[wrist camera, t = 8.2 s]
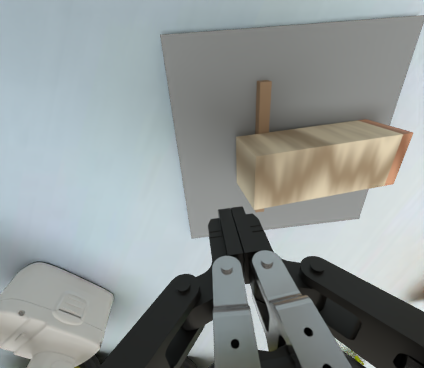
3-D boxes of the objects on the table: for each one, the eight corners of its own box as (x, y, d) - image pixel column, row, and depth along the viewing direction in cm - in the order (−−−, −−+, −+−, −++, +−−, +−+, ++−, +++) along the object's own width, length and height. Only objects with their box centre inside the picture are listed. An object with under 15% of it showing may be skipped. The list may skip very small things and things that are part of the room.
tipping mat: (161, 35, 19) (158, 33, 17) (415, 17, 20) (439, 12, 18) (191, 233, 30) (191, 245, 28) (353, 214, 31) (364, 224, 29)
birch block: (255, 156, 17) (413, 132, 19) (235, 136, 21) (366, 119, 23) (254, 210, 19) (393, 184, 21) (236, 182, 23) (354, 163, 26)
